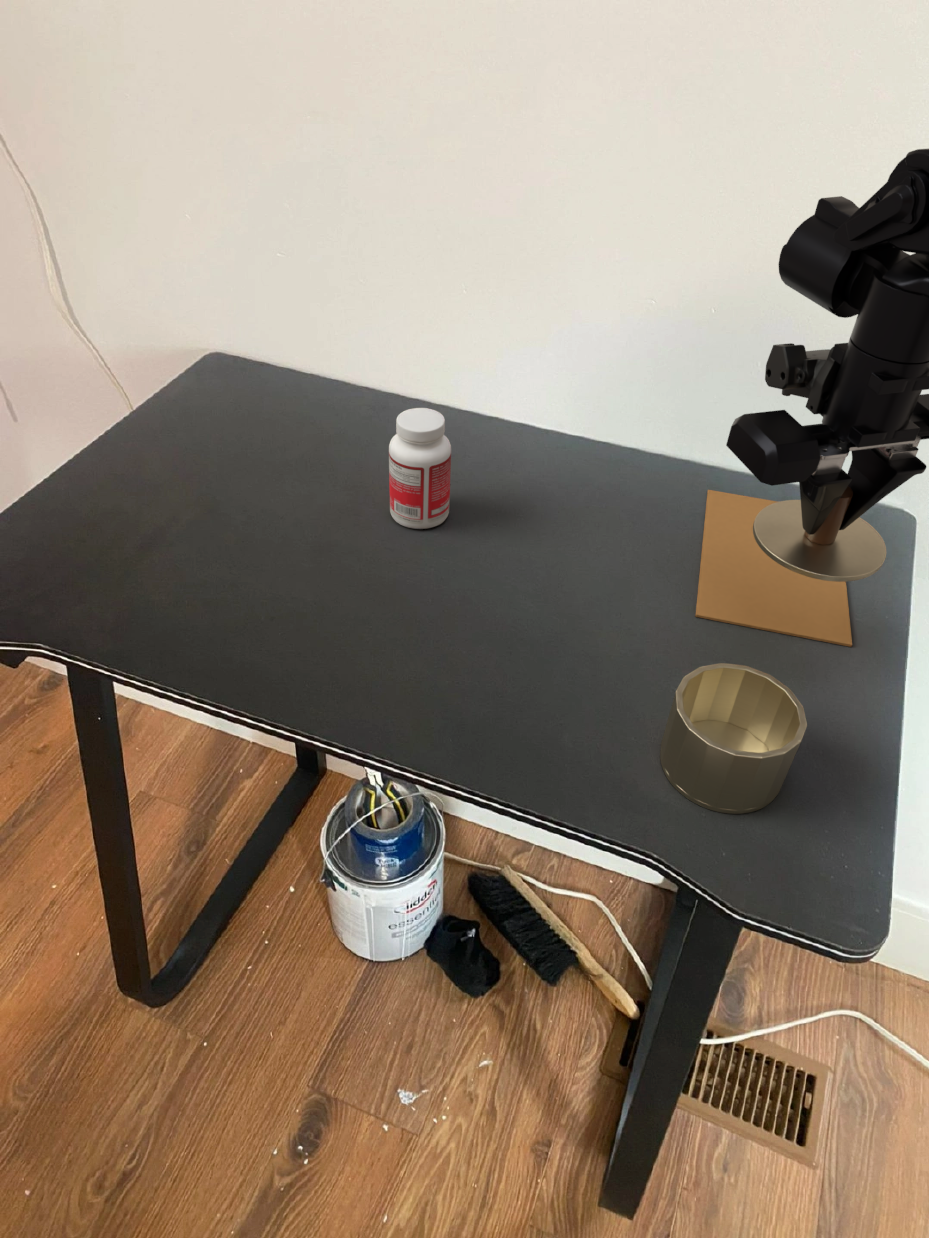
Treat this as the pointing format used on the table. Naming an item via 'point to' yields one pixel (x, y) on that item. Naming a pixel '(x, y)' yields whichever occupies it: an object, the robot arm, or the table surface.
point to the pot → (731, 737)
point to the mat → (762, 580)
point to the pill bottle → (419, 469)
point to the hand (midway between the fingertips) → (822, 529)
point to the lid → (820, 542)
